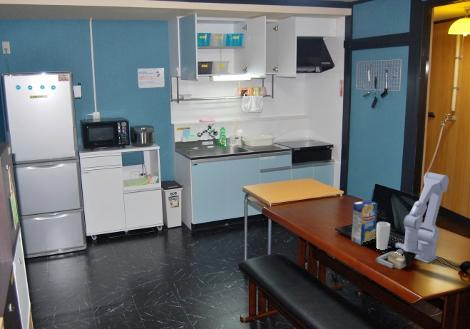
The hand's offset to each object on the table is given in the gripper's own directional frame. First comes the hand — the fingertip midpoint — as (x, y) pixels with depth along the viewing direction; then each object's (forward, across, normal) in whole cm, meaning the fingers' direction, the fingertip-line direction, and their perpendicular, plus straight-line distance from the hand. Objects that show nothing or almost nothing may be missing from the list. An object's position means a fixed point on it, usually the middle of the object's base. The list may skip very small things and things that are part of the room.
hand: (408, 265), depth 217 cm
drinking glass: (+1, -19, +6) cm, 20 cm away
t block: (+1, -6, 0) cm, 6 cm away
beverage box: (+1, -33, +9) cm, 35 cm away
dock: (+1, -9, 0) cm, 9 cm away
